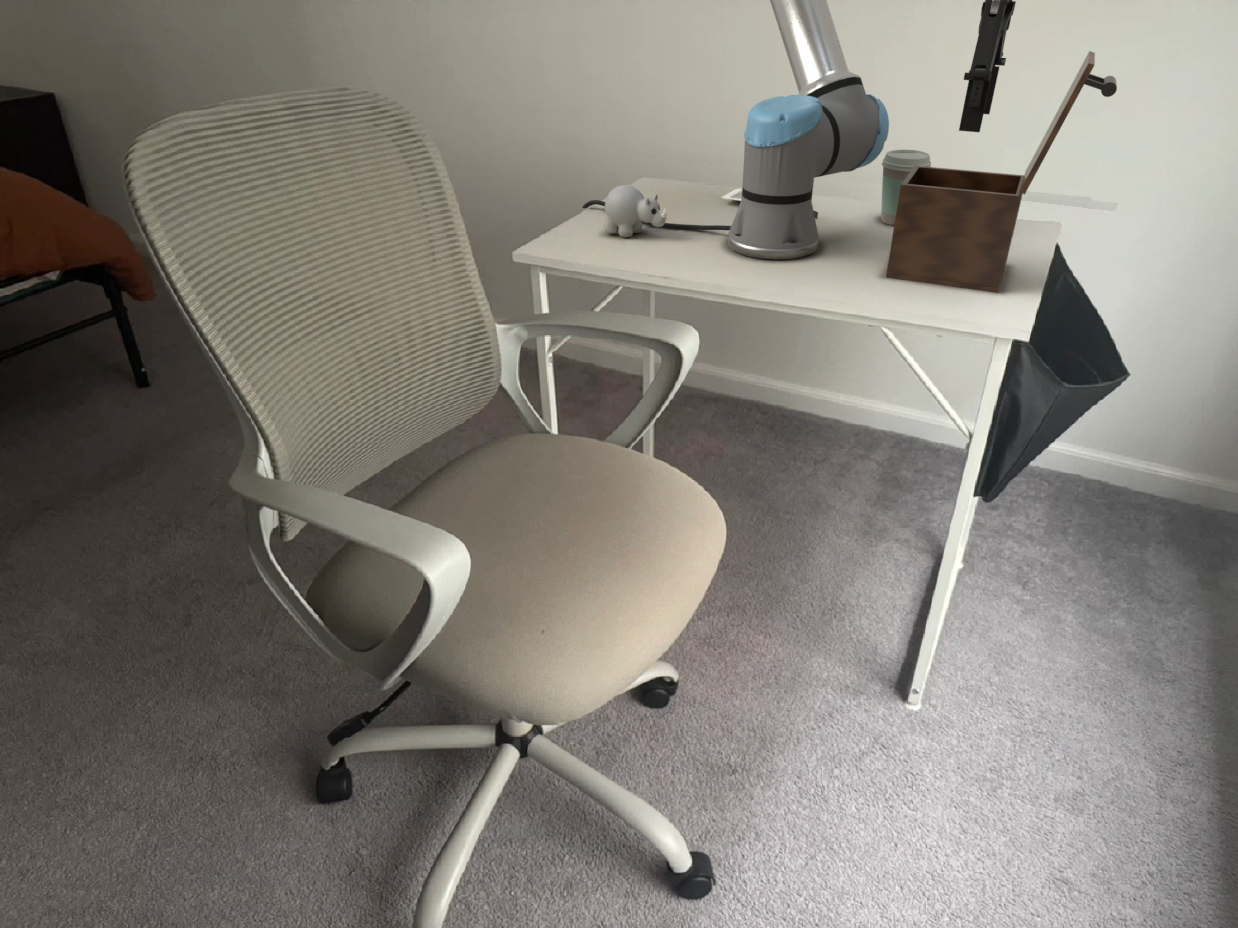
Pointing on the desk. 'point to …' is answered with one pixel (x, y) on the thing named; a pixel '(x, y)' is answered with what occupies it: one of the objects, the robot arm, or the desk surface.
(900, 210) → the storage box
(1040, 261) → the desk surface
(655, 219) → the toy rhinoceros
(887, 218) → the coffee cup
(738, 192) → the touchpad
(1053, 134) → the box lid
